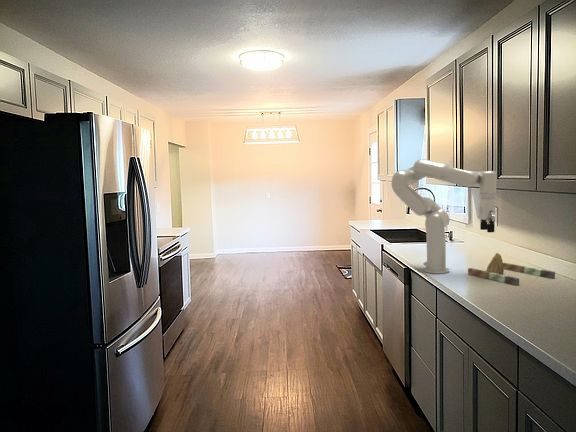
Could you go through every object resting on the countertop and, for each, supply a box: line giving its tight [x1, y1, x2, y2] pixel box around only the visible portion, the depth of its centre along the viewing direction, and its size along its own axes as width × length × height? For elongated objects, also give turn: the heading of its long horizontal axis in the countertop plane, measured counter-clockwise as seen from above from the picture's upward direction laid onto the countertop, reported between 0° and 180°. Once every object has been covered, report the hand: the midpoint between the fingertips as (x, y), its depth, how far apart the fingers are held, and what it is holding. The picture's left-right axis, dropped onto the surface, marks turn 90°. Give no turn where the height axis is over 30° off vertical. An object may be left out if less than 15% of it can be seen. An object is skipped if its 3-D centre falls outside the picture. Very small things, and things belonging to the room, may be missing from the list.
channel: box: [467, 262, 556, 287], centre depth 218 cm, size 28×26×3 cm
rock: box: [485, 252, 505, 275], centre depth 226 cm, size 11×9×10 cm
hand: (487, 230), depth 219 cm, fingers open, 9 cm apart
